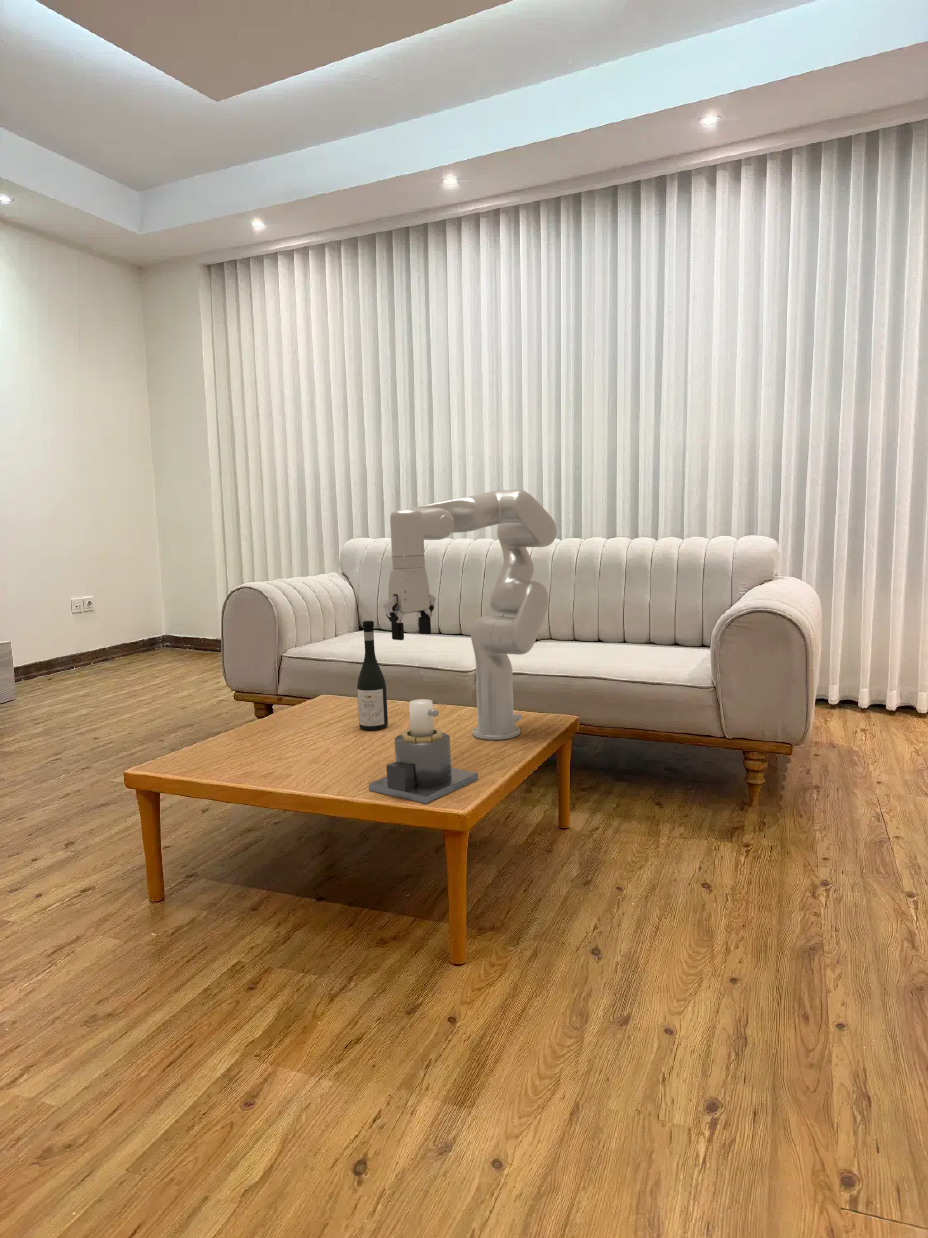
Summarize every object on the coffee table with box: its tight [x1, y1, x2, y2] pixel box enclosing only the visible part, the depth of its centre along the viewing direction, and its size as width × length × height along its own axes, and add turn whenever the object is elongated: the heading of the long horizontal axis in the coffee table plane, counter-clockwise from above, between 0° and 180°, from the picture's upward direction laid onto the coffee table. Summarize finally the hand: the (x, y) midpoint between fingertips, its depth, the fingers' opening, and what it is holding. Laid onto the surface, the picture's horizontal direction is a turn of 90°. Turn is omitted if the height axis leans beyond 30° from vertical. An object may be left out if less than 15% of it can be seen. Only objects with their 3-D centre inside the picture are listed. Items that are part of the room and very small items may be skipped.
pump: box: [408, 698, 440, 737], centre depth 180 cm, size 5×7×8 cm
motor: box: [368, 727, 479, 805], centre depth 182 cm, size 18×16×12 cm
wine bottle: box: [356, 620, 389, 731], centre depth 232 cm, size 8×8×30 cm
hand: (411, 636), depth 195 cm, fingers open, 9 cm apart
